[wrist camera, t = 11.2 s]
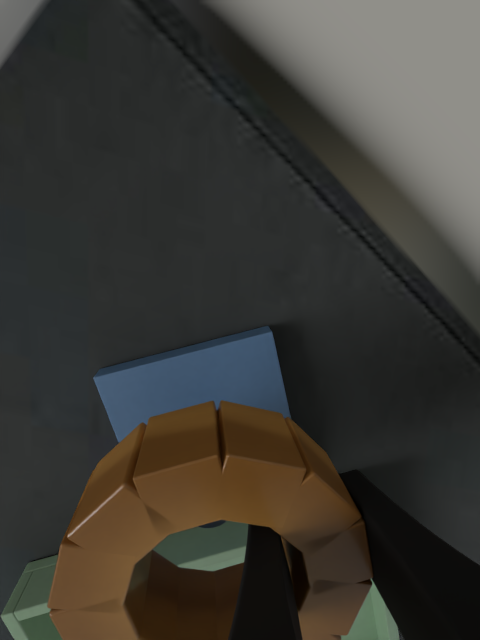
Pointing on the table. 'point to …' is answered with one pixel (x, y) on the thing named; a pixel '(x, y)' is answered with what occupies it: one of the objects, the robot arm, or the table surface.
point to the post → (195, 381)
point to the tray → (186, 552)
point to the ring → (199, 509)
